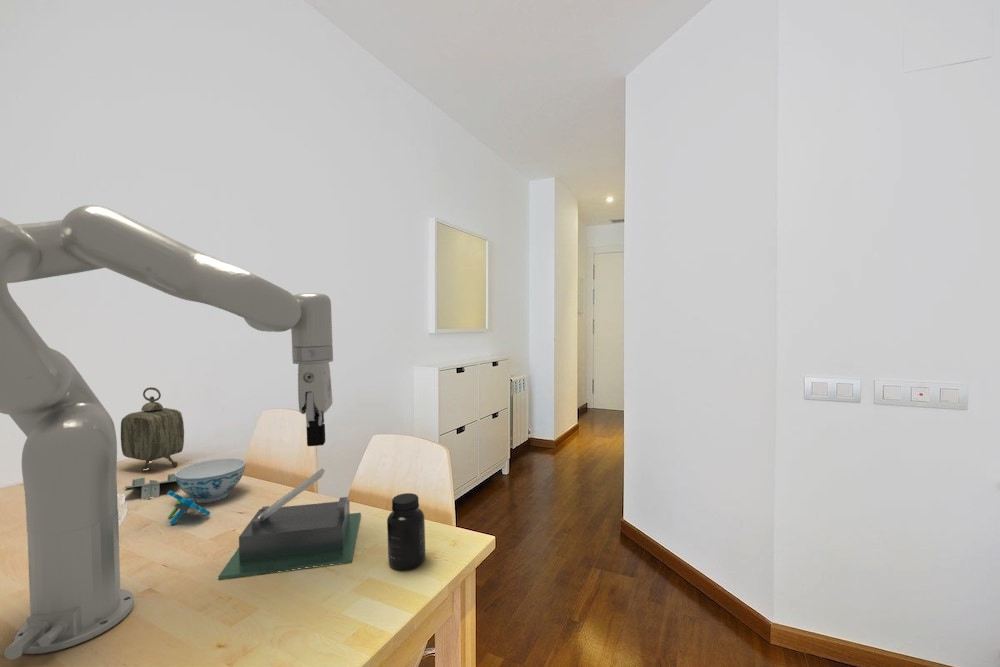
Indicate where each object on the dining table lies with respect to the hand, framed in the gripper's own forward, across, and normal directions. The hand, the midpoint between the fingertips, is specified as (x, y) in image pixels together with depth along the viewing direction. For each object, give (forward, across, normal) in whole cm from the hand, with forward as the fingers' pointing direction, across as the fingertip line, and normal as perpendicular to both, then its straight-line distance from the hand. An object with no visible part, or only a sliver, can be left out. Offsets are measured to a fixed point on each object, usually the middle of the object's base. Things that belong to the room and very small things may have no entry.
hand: (316, 444), depth 87 cm
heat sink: (+20, 0, +4) cm, 20 cm away
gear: (+20, +17, +31) cm, 41 cm away
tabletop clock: (+20, +58, +58) cm, 84 cm away
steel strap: (+10, 0, +5) cm, 11 cm away
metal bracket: (+20, +39, +48) cm, 65 cm away
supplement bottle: (+20, -12, -17) cm, 29 cm away
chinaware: (+20, +30, +31) cm, 47 cm away
